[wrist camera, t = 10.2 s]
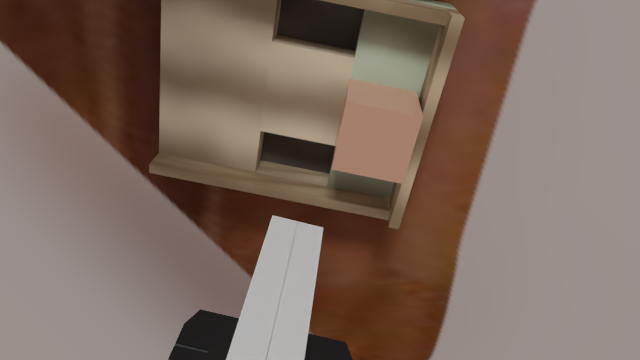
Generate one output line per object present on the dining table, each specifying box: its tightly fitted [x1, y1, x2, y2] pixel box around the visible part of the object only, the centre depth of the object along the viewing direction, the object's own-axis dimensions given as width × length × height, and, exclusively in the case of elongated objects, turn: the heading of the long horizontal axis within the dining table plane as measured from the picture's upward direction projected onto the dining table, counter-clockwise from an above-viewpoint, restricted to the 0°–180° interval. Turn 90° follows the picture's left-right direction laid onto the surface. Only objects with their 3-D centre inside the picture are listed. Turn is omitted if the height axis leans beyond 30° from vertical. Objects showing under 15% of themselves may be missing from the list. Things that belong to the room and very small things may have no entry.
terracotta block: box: [331, 78, 423, 184], centre depth 34 cm, size 5×5×5 cm
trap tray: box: [149, 0, 465, 229], centre depth 36 cm, size 16×20×6 cm
